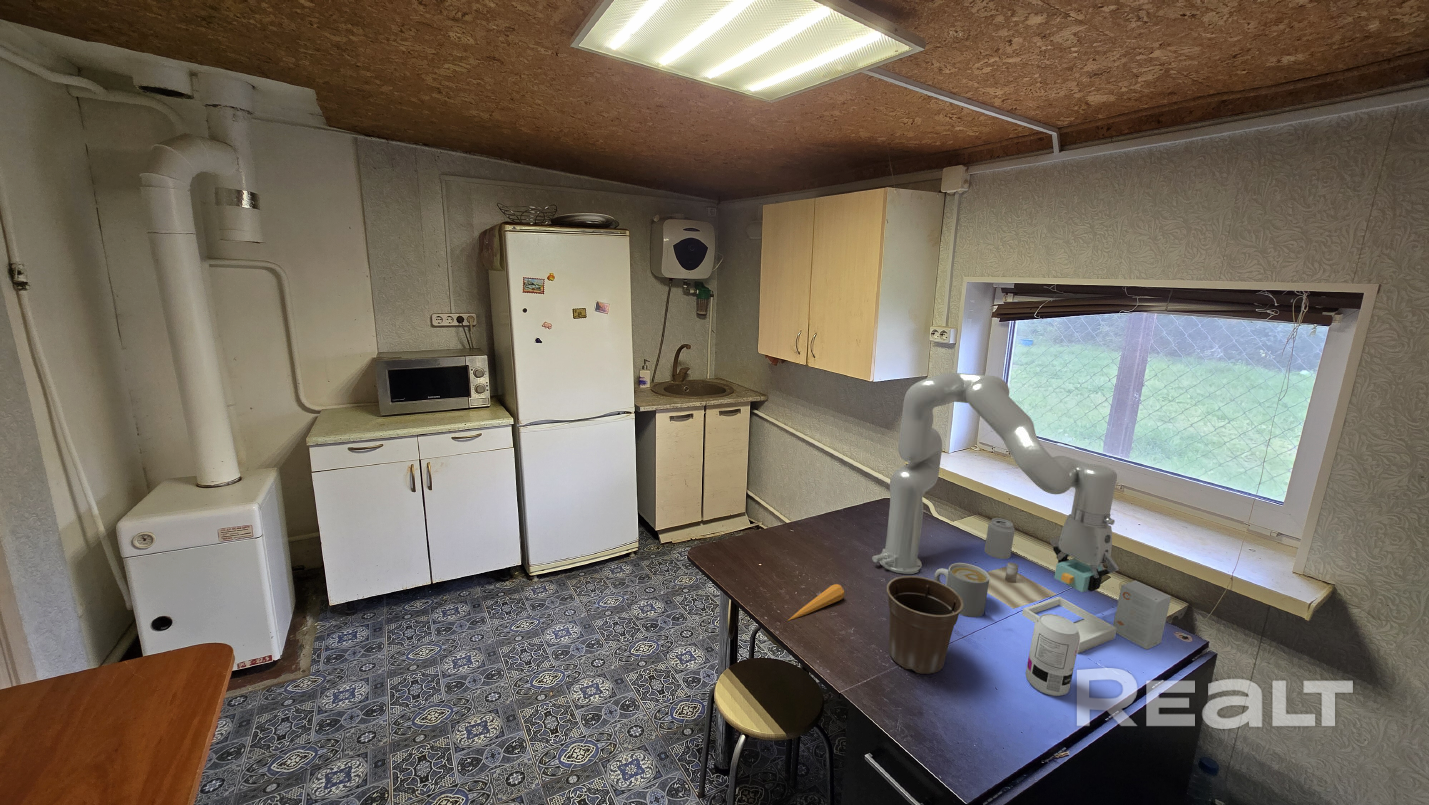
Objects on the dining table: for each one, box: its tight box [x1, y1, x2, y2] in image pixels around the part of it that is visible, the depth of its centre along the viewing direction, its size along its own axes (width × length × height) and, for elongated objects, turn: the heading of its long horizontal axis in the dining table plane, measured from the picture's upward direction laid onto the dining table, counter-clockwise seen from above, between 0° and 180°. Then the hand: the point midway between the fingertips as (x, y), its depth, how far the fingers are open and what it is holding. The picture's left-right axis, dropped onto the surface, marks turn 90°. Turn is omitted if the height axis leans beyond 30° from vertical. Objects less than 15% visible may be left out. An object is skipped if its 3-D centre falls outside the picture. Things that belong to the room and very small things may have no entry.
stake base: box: [986, 561, 1058, 610], centre depth 155 cm, size 18×16×6 cm
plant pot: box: [886, 575, 963, 675], centre depth 125 cm, size 16×16×16 cm
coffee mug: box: [933, 562, 990, 618], centre depth 147 cm, size 13×10×10 cm
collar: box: [1053, 557, 1102, 593], centre depth 135 cm, size 7×8×4 cm
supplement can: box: [1025, 613, 1080, 697], centre depth 117 cm, size 8×8×15 cm
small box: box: [1112, 580, 1172, 650], centre depth 135 cm, size 8×6×13 cm
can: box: [983, 517, 1016, 560], centre depth 173 cm, size 8×8×12 cm
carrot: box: [787, 583, 845, 622], centre depth 143 cm, size 20×4×4 cm, turn 126°
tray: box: [1021, 596, 1117, 655], centre depth 138 cm, size 15×15×3 cm
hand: (1076, 581), depth 136 cm, fingers closed on collar, 7 cm apart
